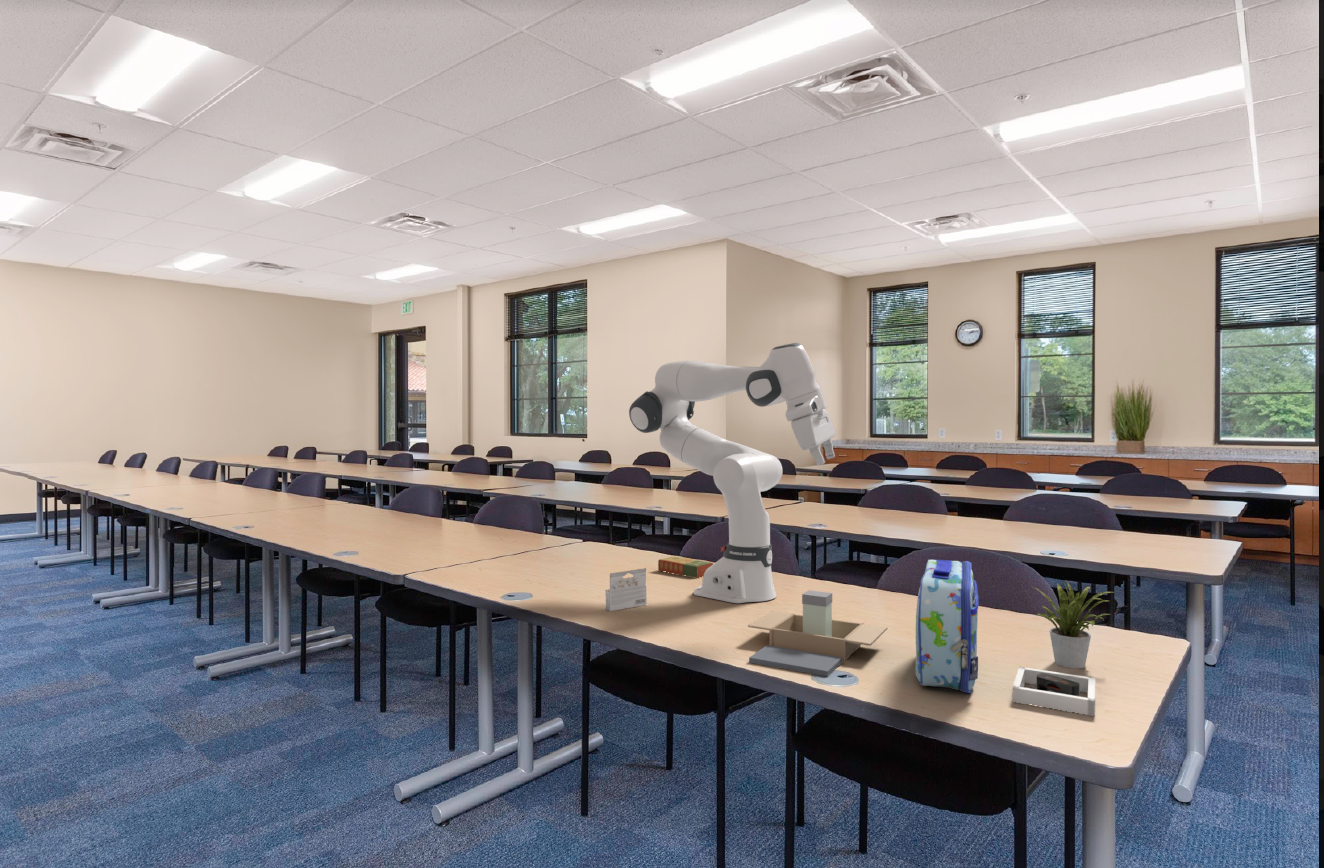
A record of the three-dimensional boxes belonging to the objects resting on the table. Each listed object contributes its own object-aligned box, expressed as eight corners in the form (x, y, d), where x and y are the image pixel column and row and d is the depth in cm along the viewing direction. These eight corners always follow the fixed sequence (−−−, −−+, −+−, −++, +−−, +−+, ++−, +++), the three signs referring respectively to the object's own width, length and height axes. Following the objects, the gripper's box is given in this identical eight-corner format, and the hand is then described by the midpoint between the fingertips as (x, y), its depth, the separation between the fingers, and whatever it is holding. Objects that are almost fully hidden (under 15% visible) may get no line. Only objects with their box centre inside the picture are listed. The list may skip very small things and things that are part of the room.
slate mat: (749, 662, 145) (749, 657, 145) (766, 650, 153) (766, 645, 153) (827, 676, 137) (827, 671, 137) (842, 662, 144) (842, 657, 144)
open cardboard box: (747, 644, 157) (747, 625, 156) (772, 628, 168) (772, 610, 168) (870, 664, 143) (870, 644, 143) (887, 645, 155) (887, 626, 155)
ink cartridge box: (605, 609, 186) (604, 571, 186) (642, 603, 192) (641, 566, 192) (609, 612, 184) (609, 573, 184) (647, 605, 190) (646, 568, 190)
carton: (674, 568, 238) (674, 555, 238) (714, 575, 227) (714, 561, 227) (657, 572, 232) (657, 559, 232) (697, 579, 221) (697, 565, 221)
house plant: (1138, 674, 136) (1139, 587, 136) (1079, 682, 133) (1080, 593, 132) (1075, 651, 150) (1075, 572, 150) (1020, 657, 146) (1020, 576, 146)
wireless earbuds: (1038, 689, 130) (1038, 671, 130) (1080, 702, 124) (1080, 683, 124) (1024, 695, 127) (1025, 677, 127) (1067, 708, 121) (1067, 689, 121)
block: (802, 645, 155) (802, 594, 155) (809, 640, 159) (808, 590, 159) (826, 649, 153) (825, 597, 152) (832, 644, 156) (832, 593, 156)
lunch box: (979, 703, 123) (979, 580, 123) (912, 694, 128) (912, 575, 127) (977, 656, 148) (977, 553, 147) (920, 650, 152) (920, 550, 151)
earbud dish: (1012, 702, 124) (1012, 687, 124) (1019, 680, 134) (1019, 666, 134) (1094, 716, 118) (1094, 701, 117) (1095, 692, 128) (1095, 678, 128)
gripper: (806, 407, 186) (825, 458, 186) (782, 415, 168) (802, 472, 168) (830, 399, 183) (848, 451, 183) (808, 406, 165) (828, 464, 165)
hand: (826, 461), depth 175 cm, fingers open, 8 cm apart
